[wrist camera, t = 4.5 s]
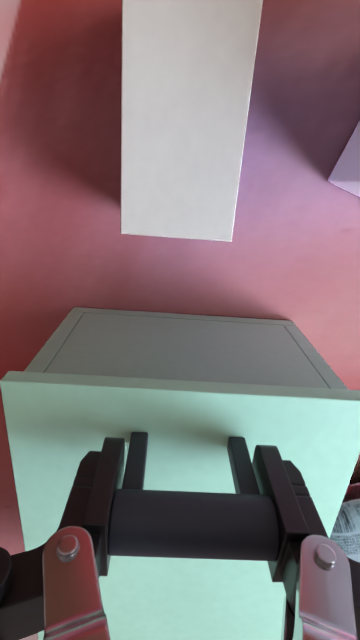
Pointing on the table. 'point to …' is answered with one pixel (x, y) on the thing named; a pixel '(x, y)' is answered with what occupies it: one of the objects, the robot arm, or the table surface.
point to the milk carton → (349, 166)
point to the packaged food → (349, 523)
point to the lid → (180, 489)
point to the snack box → (185, 114)
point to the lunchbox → (183, 349)
